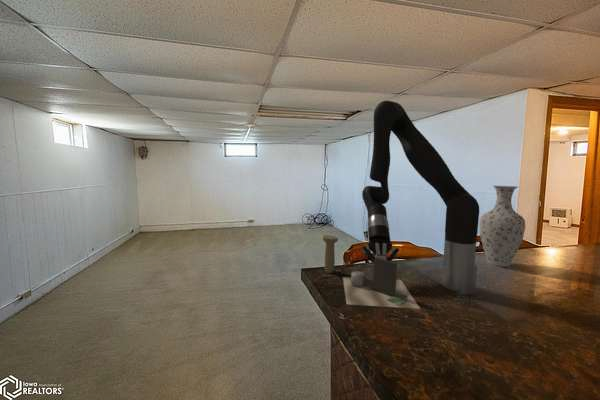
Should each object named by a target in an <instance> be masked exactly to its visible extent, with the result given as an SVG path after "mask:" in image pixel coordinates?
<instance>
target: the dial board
mask: <svg viewBox="0 0 600 400" xmlns="http://www.w3.org/2000/svg"><path fill="white" fill-rule="evenodd" d="M372 279H373V278H372ZM342 281H343V288H344V295H345V302H346V305H347V306H348V305H351V306H363V307H364V306H367V307H368V306H369V307H384V308H399V309H401V308H402V309H415V310H416V309H417V310H421V307H420V306H419V305H418V303H417V301H416V300H415V298H414V297H413V296H412V294H411V293H410V291H409V290H408V288H407V287H406V285H405V283H404V282H403V281H402V280H401V279H396V292H397V293H400V294H403V295H407V296H408V297H407V299H406V298H403V297H400V296H397V295H394V296H391V295H388V294H385V293H382V292H379V291H376V290H373V288H372V287H368V286H354V285H352V284H351V276H350V277H349V276H342Z"/></svg>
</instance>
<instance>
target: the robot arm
mask: <svg viewBox="0 0 600 400" xmlns="http://www.w3.org/2000/svg"><path fill="white" fill-rule="evenodd" d="M373 111H374V112H373V144H372V145H373V147H372V157H371V164H370V169H369V171H370V172H369V179H370V180H371V181H374V182H377V183H380V186H377V185H376V186H375V185H374V186H373V185H366V186H365V187H364V188H363V190H362V192H361V193H362V194H361V197H362V201H363V203H364V205H365V207H366V210H367V211H366V212H367V233H368V242H367V245H366V246H362V248H361V253H363V254H364V255H365V257H366V258H367V259H368V260H369V261H370V262H371V263H373V264H374V258H380V259H384V260H388V261H393V260H394V259H395V257H396V256H397V255H398V254H399V252H400V249H399V248H396V247H394V246H393V243H392V242H391V235H390V225H389V221H388V214H387V207H386V206H385V204H386V203H388V201H389V199H390V190H389V181H388V180H389V172H390V166H391V150H390V149H391V148H390V147H391V146H390V142H391V141H390V138H391V133H393V134H394V135H395V136H396V138H397V139H398V141H399V143H400V145H401V146H402V150H403V152H404V155H405V157H406V159H407V161H408V162H409V163H410V164H411V166H412V167H413V169H414V170H415V171H416V172H417V173H418V175H419V176H421V178H422V179H423V180H425V182H426V183H428V184H429V185H430V186H431V187H432V188H433V189H434V190H435V191H436V192H437V194H438V195H439V197H440V198H441V200H442V201H443V203H444V204H445V206H446V207H445V208H446V211H445V227H444V243H443V244H444V246H443V247H444V248H443V261H442V262H443V263H442V272H441V273H442V275H441V277H442V278H441V285H442V286H443V287H444V288H446V289H448V290H451V291H455V292H457V293H458V294H459V296H460V295H462V296H469V295H471V294H473V295H474V294H476V283H477V274H478V266H477V265H476V263H475V261H476V249H477V240H478V239H477V238H478V232H479V230H478V229H479V222H480V220H479V219H480V205H479V202H478V200H477V199H476V198H475V197H474V196H473V195H472V194H471V193H469V191H467V190H466V189H465V187H464V186H462V184H461V183H459V181H458V180H457V179H456V177H455V176H454V175H453V173H452V171H451V170H450V168H449V167H448V164H446V161H445V160H444V159H443V157H442V156H441V155H440V153H439V152H438V151H437V150H436V148H435V147H434V146H433V145H432V143H430V142H429V140H428V139H427V138H426V137H425V136H424V134H423V133H421V132H420V131H419V130H418V128H417V127H416V126H415V124H414V123H413V121H412V120H411V119H410V116H409V115H408V113H407V112H406V111H405V108H404V107H403V106H402V105H401V104H400V103H398V102H396V101H391V100H383V101H380V102H379V103H378V104H377V105H376V106H375V108H374V110H373ZM388 253H390V255H389V256H388V257H387V254H388Z"/></svg>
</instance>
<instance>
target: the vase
mask: <svg viewBox="0 0 600 400" xmlns="http://www.w3.org/2000/svg"><path fill="white" fill-rule="evenodd" d="M492 187H493V188H494V189H495V193H496V202H495V205H494V207H492V209H491V210H488V211H487V212H484V213H483V214H482V215H481V217H480V218H479V219H480V220H479V238H480V240H481V243H482V248H483V250H484V251H483V252H484V254H485V255H484V256H485V259H486V264H487V265H490V266H493V267H496V266H497V267H496V268H502V267H508V268H510V267H511V263H512V261H513V259H514V257H515V255H516V253H517V252H518V250H519V249H520V246H521V244H522V242H523V240H524V235H525V230H526V220H525V218H524V217H523V216H522V215H521V214H519V213H517V212H516V211H515V209H514V208H513V205H512V198H513V194H514V192H515V190H516V189H517V188H519V186H514V185H492Z"/></svg>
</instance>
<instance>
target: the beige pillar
mask: <svg viewBox="0 0 600 400" xmlns="http://www.w3.org/2000/svg"><path fill="white" fill-rule="evenodd" d="M338 239H339V238H338V236H335V235H330V234H328V235H327V234H326V235H322V240H323V242H324V243H325V249H324V251H325V252H324V270H325V273H326V274H327V273H328V274H332V273H334V271H335V270H334V269H335V258H336V257H335V244H336V243H337V242H338Z"/></svg>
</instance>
